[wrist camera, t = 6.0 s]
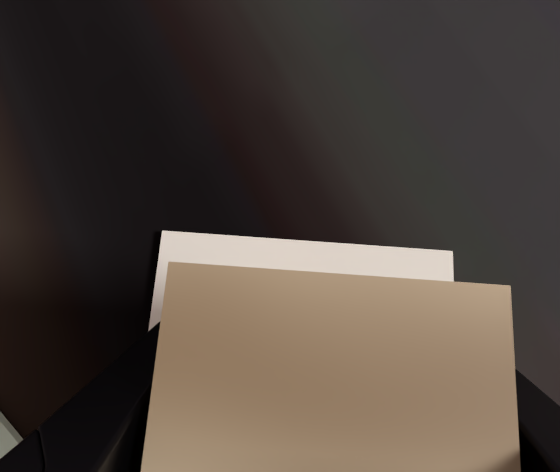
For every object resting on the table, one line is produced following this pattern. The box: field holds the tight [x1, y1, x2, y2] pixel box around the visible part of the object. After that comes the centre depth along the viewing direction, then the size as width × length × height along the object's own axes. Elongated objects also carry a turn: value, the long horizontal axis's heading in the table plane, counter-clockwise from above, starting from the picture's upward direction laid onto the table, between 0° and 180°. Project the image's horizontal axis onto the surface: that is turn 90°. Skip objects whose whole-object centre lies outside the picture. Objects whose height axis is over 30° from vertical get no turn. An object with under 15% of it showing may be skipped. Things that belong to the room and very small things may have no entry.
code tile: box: [148, 231, 454, 331], centre depth 15 cm, size 10×10×1 cm
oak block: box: [141, 262, 521, 472], centre depth 11 cm, size 4×5×9 cm
